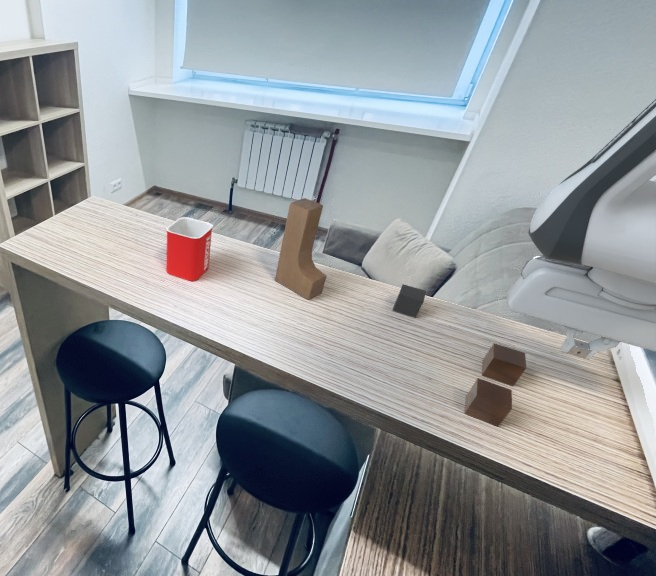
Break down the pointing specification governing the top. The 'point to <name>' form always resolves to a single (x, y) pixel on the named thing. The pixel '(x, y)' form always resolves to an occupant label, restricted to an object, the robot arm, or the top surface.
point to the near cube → (488, 402)
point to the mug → (188, 248)
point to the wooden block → (300, 250)
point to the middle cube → (503, 364)
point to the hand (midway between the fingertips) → (574, 353)
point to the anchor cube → (409, 300)
